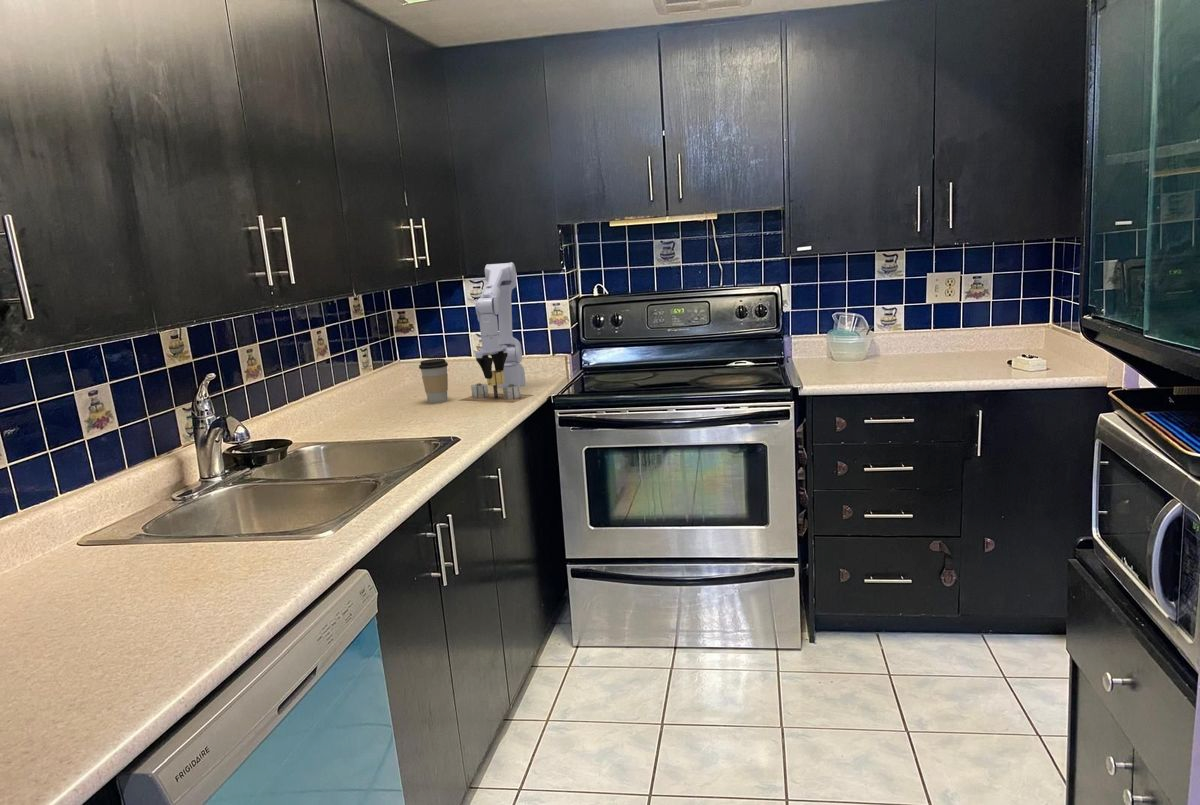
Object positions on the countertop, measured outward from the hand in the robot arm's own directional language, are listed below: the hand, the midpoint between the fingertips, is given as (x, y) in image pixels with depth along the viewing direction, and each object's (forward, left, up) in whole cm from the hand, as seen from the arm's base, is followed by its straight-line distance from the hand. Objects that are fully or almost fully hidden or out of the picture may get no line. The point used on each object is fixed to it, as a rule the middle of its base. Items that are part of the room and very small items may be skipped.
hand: (494, 376), depth 265 cm
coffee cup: (+8, -18, -9) cm, 21 cm away
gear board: (0, 0, -8) cm, 8 cm away
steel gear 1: (0, -7, -7) cm, 9 cm away
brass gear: (0, 0, -2) cm, 2 cm away
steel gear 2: (0, +6, -7) cm, 9 cm away
